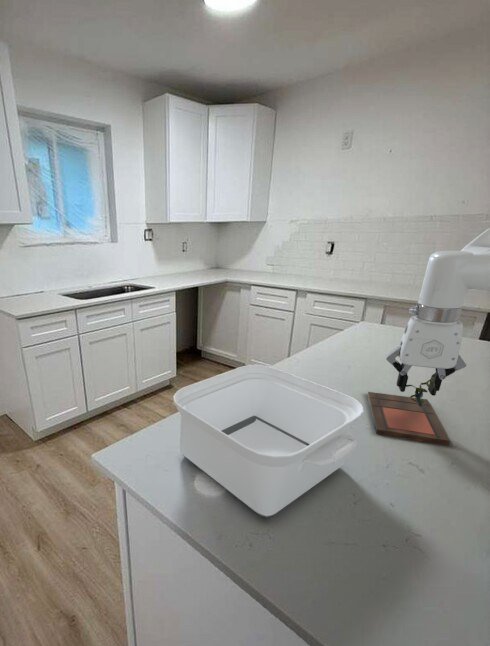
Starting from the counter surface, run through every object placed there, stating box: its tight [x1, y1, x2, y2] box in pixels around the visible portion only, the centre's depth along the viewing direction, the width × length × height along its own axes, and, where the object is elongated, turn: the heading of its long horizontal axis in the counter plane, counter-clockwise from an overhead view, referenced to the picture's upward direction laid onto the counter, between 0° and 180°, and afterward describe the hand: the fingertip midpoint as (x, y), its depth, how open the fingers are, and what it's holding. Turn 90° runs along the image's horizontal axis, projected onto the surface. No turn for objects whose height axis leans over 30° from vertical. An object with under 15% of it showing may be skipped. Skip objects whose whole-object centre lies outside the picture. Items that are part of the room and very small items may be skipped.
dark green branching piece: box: [406, 376, 437, 407], centre depth 81 cm, size 8×6×6 cm
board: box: [366, 391, 451, 446], centre depth 89 cm, size 14×20×1 cm
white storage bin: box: [172, 364, 365, 518], centre depth 72 cm, size 34×29×15 cm
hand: (416, 390), depth 82 cm, fingers closed on dark green branching piece, 5 cm apart
